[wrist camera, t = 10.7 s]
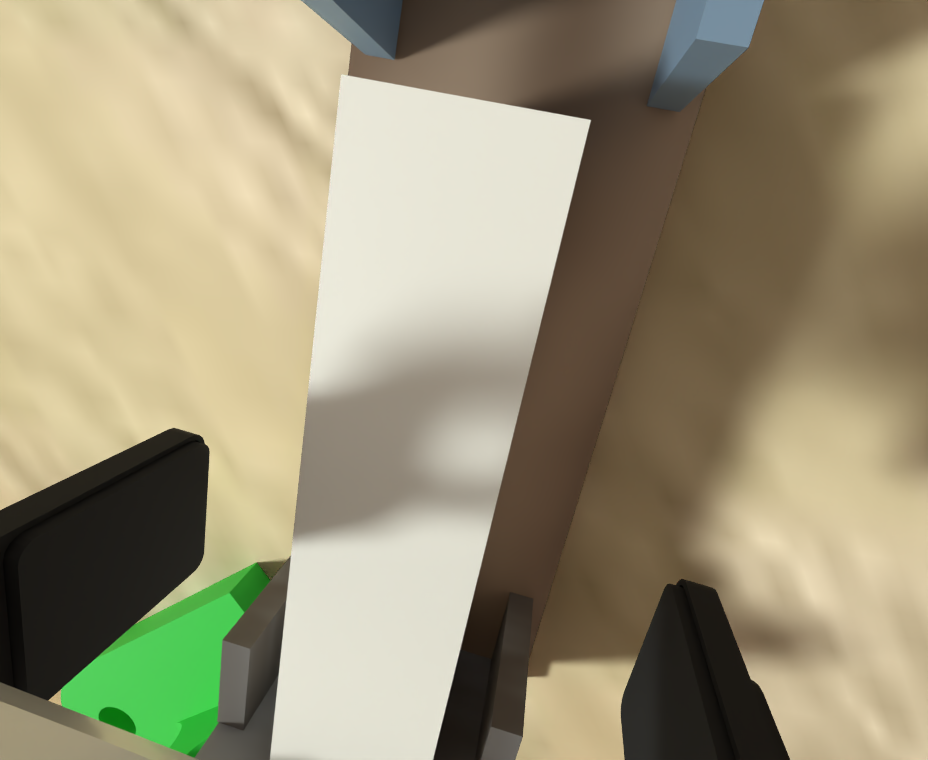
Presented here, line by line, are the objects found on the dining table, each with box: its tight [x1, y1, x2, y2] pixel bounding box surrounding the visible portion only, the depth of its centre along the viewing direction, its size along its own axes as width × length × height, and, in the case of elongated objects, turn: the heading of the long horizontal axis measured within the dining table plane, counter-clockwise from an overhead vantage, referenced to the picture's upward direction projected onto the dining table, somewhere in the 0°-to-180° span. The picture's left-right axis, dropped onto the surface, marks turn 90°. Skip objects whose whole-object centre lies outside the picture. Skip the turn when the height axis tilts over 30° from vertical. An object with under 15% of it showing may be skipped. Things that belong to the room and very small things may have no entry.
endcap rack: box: [195, 0, 706, 760], centre depth 12 cm, size 9×23×10 cm, turn 169°
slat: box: [270, 74, 591, 760], centre depth 13 cm, size 4×16×6 cm, turn 169°
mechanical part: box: [61, 563, 270, 758], centre depth 19 cm, size 12×6×8 cm, turn 122°
